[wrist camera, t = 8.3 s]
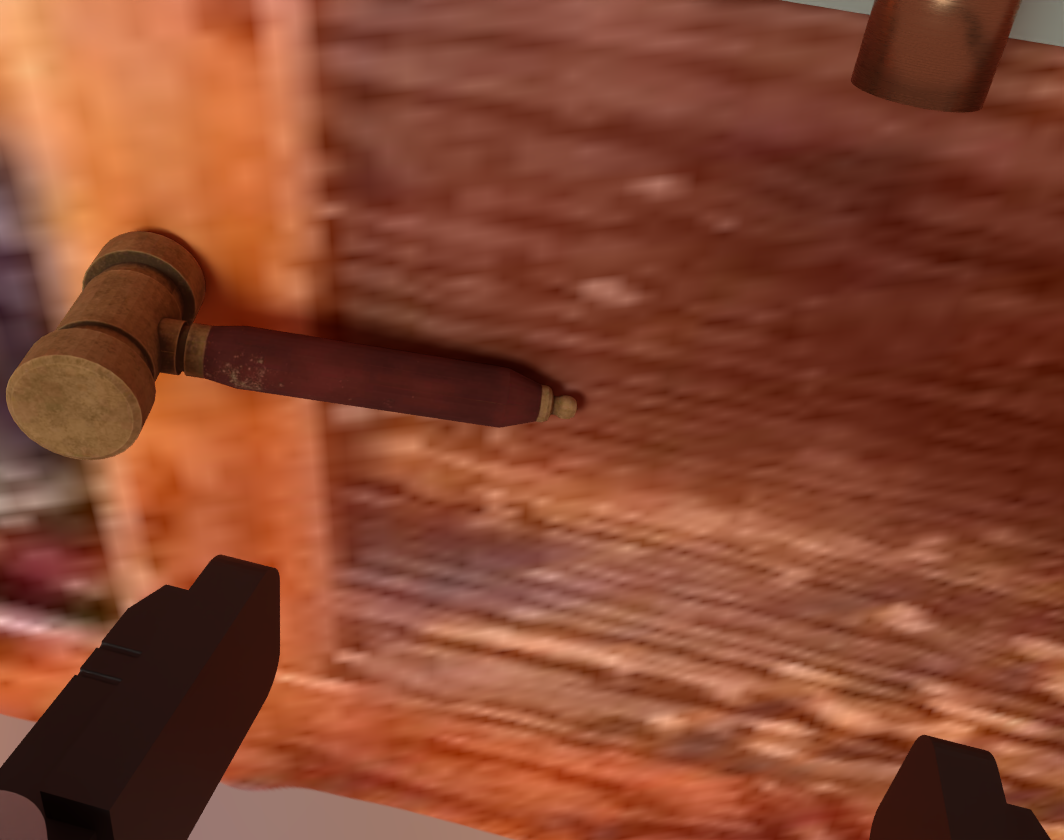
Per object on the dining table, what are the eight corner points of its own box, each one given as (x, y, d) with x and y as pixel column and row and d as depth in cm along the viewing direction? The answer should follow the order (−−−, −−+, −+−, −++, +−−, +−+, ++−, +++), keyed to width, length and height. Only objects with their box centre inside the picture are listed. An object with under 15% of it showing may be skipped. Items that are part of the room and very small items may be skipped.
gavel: (581, 303, 44) (601, 438, 36) (558, 386, 46) (572, 529, 38) (95, 220, 41) (-4, 347, 32) (100, 314, 43) (10, 453, 35)
